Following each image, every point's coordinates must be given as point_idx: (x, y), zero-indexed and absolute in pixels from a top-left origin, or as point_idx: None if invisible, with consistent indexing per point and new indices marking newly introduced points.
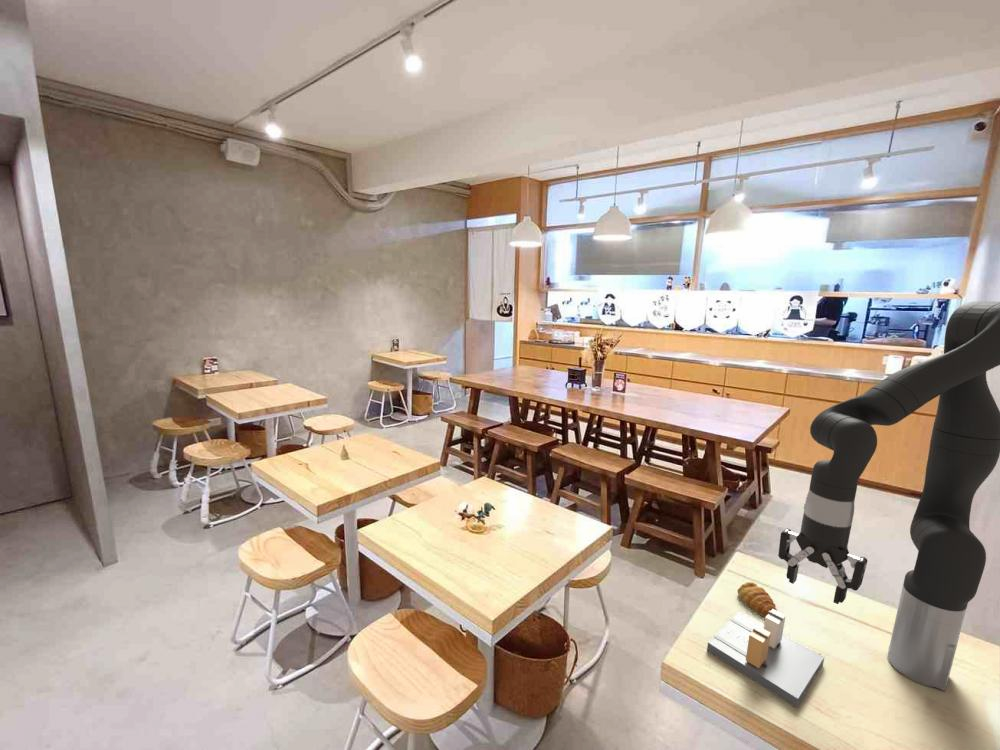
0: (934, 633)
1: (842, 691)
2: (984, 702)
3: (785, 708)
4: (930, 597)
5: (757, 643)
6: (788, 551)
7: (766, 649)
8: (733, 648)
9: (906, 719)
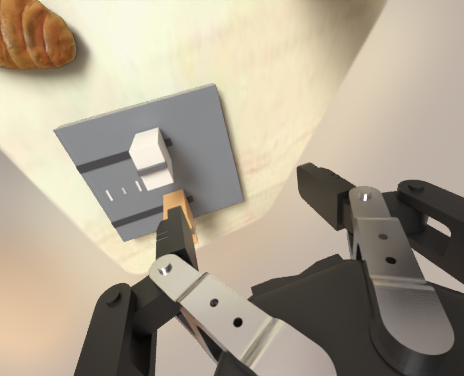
0: None
1: (254, 109)
2: None
3: (234, 205)
4: None
5: None
6: (133, 317)
7: (187, 206)
8: (147, 217)
9: (318, 71)
